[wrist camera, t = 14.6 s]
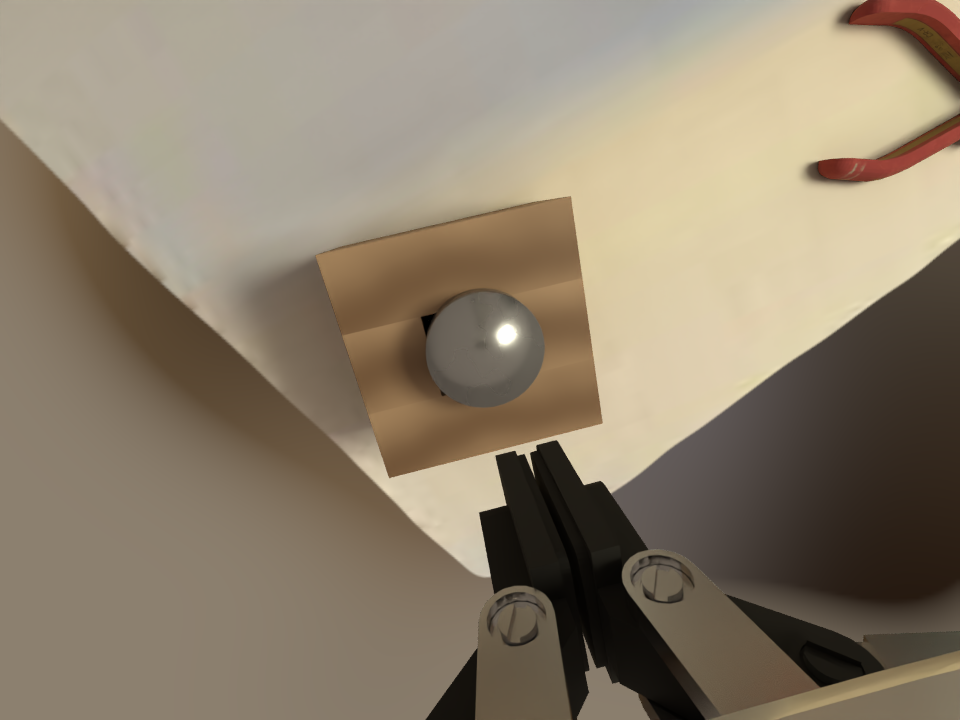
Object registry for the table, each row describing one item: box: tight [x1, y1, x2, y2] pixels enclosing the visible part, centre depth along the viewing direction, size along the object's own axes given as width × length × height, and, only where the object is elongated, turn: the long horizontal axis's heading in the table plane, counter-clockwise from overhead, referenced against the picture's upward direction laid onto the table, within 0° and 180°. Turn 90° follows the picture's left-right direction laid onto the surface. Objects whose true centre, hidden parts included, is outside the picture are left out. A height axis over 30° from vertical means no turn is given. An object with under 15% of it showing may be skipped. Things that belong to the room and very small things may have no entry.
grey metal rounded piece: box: [426, 288, 545, 408], centre depth 28 cm, size 7×7×9 cm
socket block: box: [315, 196, 602, 478], centre depth 30 cm, size 14×14×8 cm
